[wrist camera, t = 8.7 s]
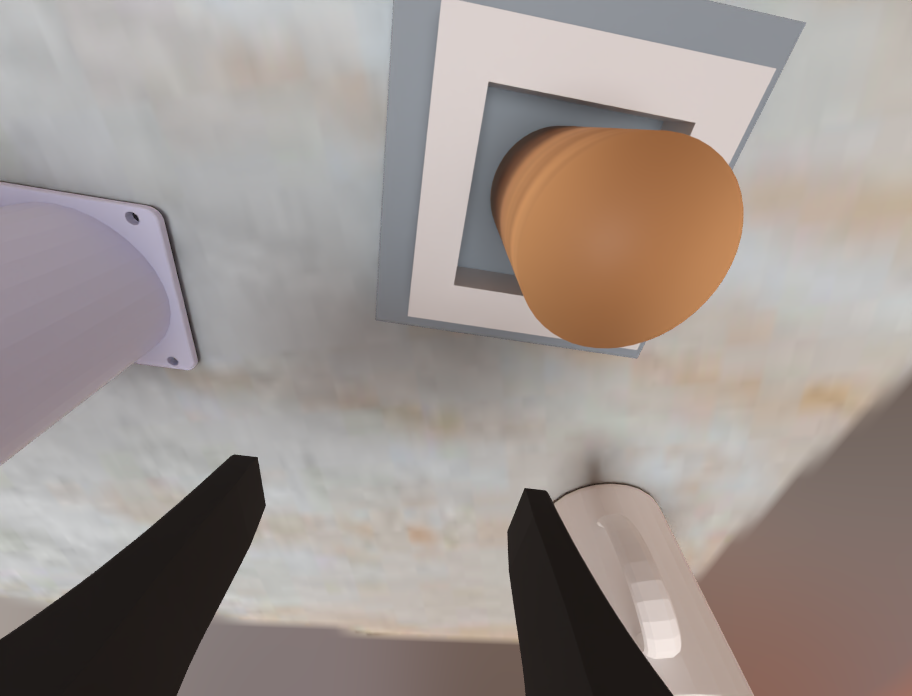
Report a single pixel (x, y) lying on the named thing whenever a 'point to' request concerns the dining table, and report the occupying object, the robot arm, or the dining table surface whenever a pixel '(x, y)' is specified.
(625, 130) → the peg
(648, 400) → the dining table surface
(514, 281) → the socket board
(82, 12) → the dining table surface
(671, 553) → the mug
